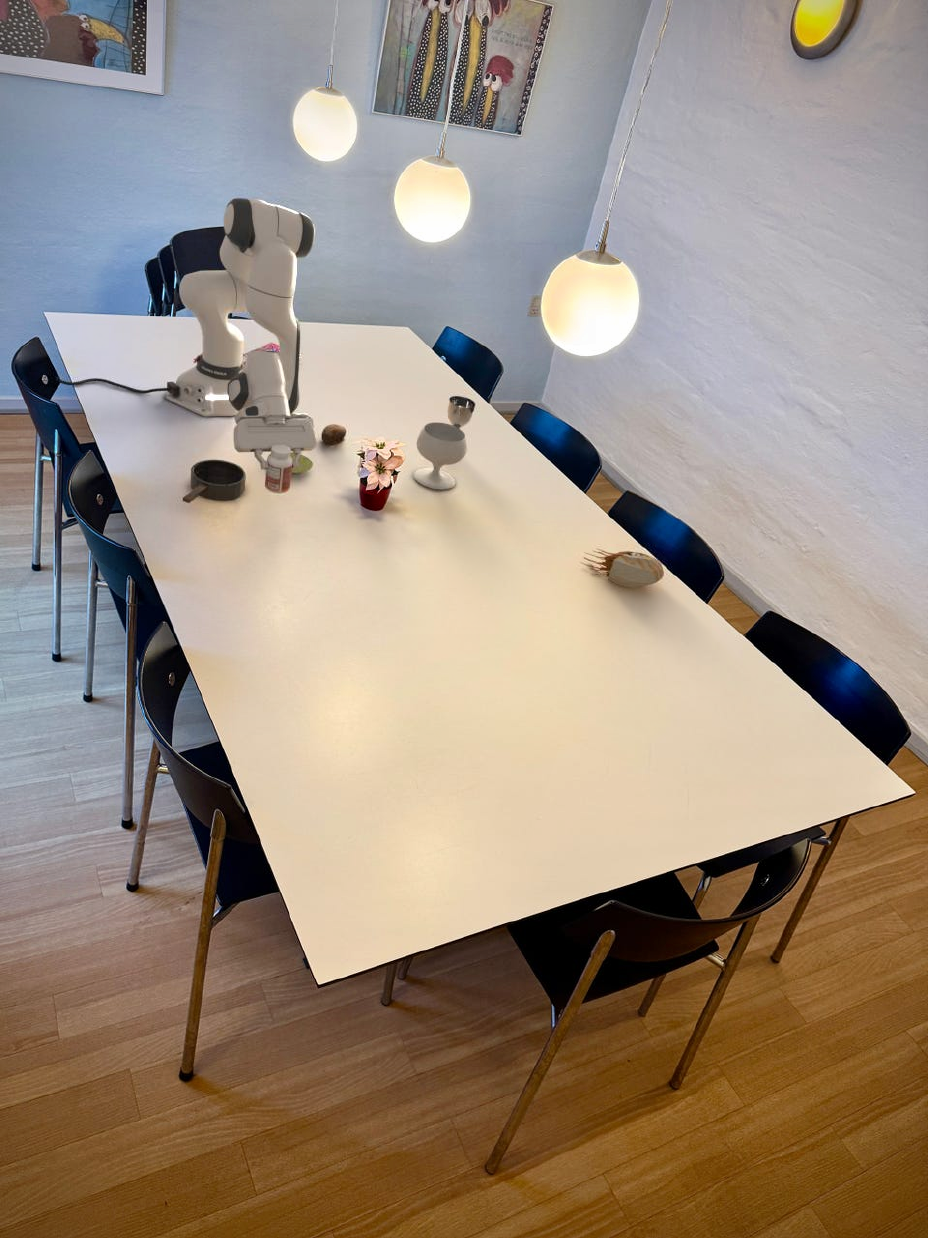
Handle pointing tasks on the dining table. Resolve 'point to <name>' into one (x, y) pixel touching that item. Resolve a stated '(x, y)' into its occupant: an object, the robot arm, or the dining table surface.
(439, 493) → the dining table surface
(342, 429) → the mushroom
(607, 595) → the dining table surface
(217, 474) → the pan
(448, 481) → the chalice
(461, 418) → the wine glass
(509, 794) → the dining table surface
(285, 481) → the pill bottle
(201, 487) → the pan handle
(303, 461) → the green disc
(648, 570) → the nautilus
